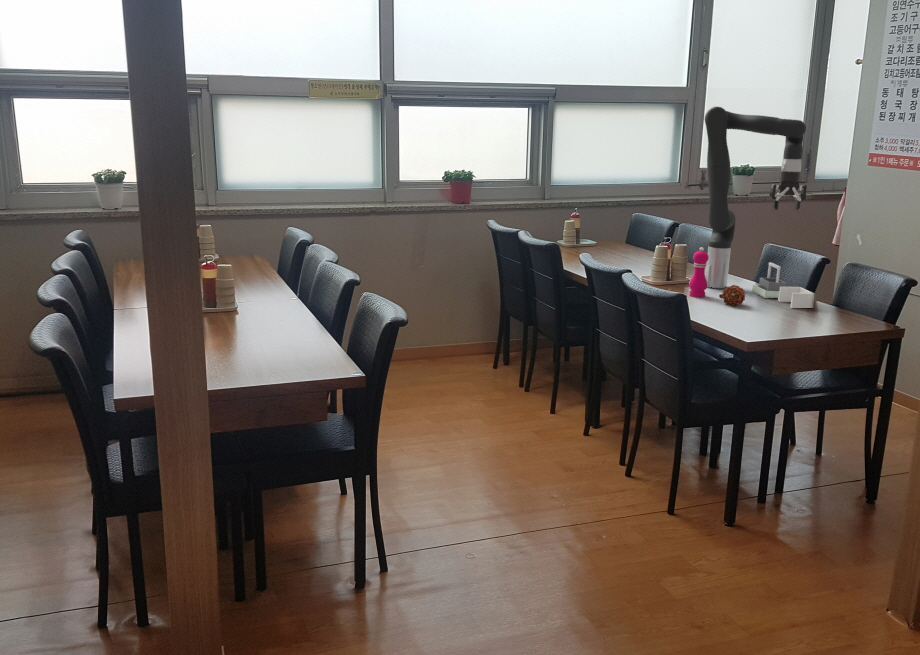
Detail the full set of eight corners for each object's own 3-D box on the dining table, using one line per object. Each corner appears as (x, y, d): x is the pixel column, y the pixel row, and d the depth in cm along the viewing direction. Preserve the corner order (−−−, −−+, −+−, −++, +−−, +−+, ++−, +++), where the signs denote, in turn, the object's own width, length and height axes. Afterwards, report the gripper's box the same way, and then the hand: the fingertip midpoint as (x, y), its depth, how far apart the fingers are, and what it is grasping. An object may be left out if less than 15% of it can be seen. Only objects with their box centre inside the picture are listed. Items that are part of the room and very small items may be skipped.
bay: (791, 308, 307) (793, 293, 305) (778, 301, 319) (779, 286, 318) (812, 309, 307) (814, 293, 306) (798, 301, 319) (800, 287, 318)
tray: (764, 298, 324) (765, 291, 323) (752, 291, 337) (752, 284, 336) (790, 299, 324) (791, 291, 323) (777, 291, 337) (778, 284, 336)
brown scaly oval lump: (736, 312, 305) (724, 309, 317) (754, 299, 305) (742, 297, 317) (723, 294, 304) (712, 292, 316) (742, 281, 304) (730, 280, 316)
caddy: (767, 295, 325) (770, 266, 322) (758, 290, 335) (761, 262, 332) (784, 296, 326) (788, 266, 322) (775, 290, 335) (778, 262, 332)
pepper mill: (704, 294, 329) (709, 246, 324) (707, 298, 322) (712, 248, 317) (686, 293, 330) (691, 245, 325) (689, 297, 323) (694, 248, 318)
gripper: (804, 170, 331) (799, 209, 335) (770, 169, 331) (765, 208, 335) (812, 171, 324) (806, 211, 328) (777, 170, 324) (772, 210, 328)
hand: (785, 210), depth 332 cm, fingers open, 8 cm apart
